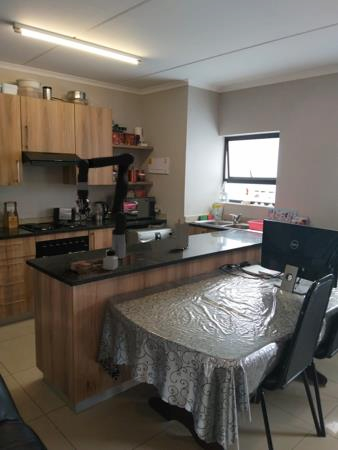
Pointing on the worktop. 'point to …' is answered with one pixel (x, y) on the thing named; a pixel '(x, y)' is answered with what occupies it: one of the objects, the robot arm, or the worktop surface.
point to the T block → (80, 264)
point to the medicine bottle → (110, 260)
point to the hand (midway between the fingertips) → (83, 214)
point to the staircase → (181, 235)
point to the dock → (88, 268)
